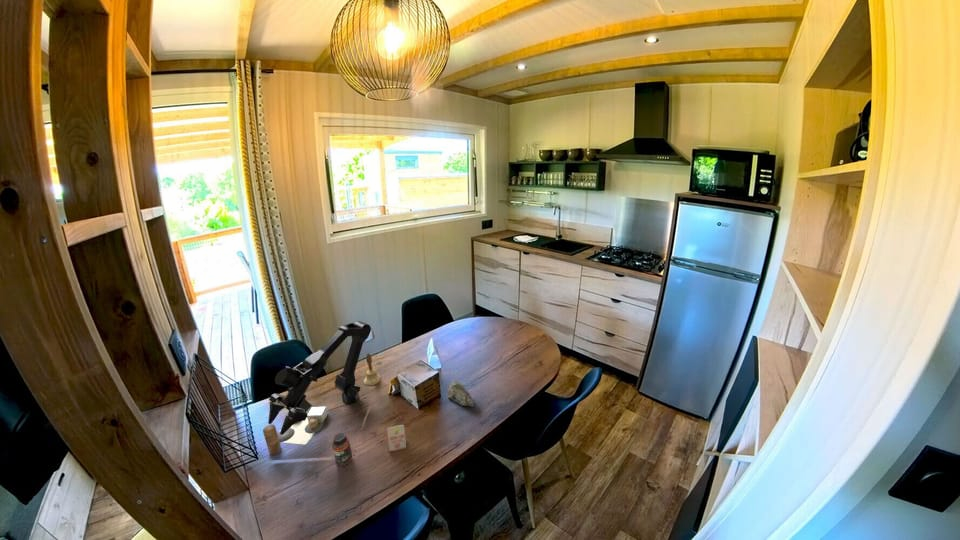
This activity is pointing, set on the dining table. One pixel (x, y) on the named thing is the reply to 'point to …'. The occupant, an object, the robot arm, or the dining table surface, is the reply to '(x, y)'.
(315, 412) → the housing
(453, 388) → the mineral rock
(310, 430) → the board
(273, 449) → the tan orange cylinder
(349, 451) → the supplement bottle
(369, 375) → the hand bell
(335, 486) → the dining table surface
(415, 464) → the dining table surface
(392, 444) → the small printed carton
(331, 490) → the dining table surface
